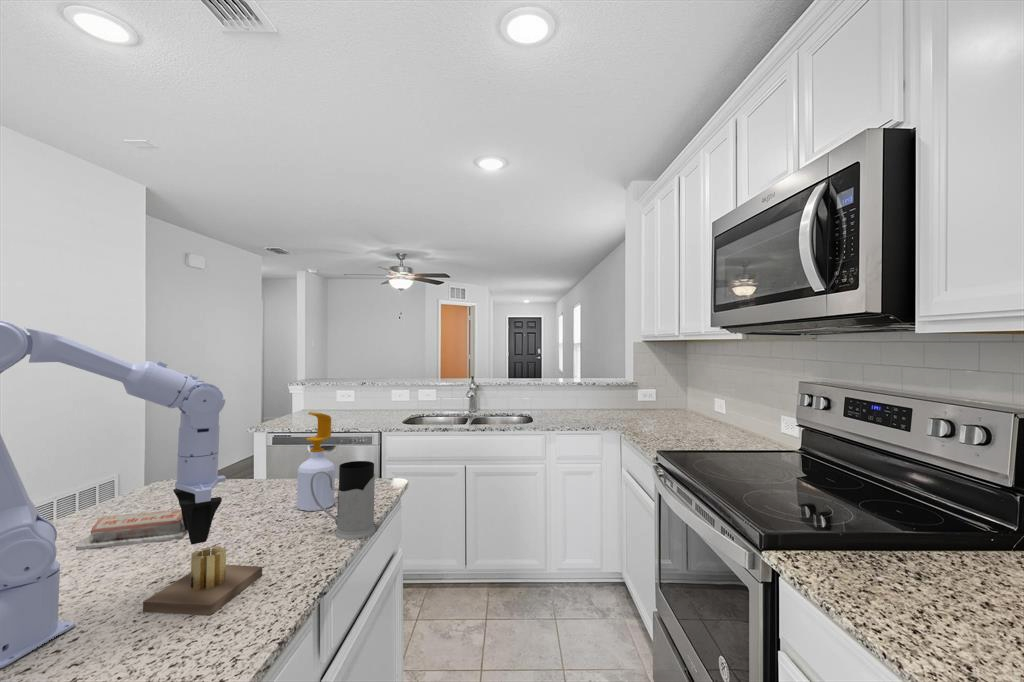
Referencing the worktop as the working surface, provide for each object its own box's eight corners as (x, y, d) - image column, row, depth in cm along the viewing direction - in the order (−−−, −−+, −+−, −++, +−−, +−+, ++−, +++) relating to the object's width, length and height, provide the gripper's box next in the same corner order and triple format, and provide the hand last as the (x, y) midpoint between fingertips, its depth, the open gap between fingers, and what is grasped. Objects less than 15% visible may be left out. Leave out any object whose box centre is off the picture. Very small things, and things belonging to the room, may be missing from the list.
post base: (210, 615, 71) (211, 581, 71) (142, 611, 72) (143, 578, 72) (262, 575, 84) (262, 546, 84) (204, 572, 85) (204, 544, 85)
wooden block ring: (227, 583, 78) (228, 553, 78) (194, 592, 75) (195, 561, 75) (221, 572, 81) (222, 543, 82) (189, 581, 78) (190, 551, 78)
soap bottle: (288, 509, 119) (291, 413, 120) (313, 499, 128) (315, 409, 128) (317, 513, 116) (320, 414, 117) (341, 502, 125) (343, 410, 126)
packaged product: (194, 504, 109) (182, 518, 100) (194, 525, 109) (181, 541, 100) (98, 512, 102) (75, 528, 93) (97, 535, 102) (74, 553, 93)
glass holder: (372, 538, 101) (374, 468, 102) (303, 541, 99) (305, 470, 100) (378, 523, 110) (379, 459, 110) (314, 526, 108) (316, 461, 108)
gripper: (234, 458, 76) (231, 543, 75) (218, 444, 87) (216, 518, 86) (181, 464, 71) (177, 554, 71) (172, 448, 82) (168, 526, 82)
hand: (195, 535), depth 78 cm, fingers open, 7 cm apart
